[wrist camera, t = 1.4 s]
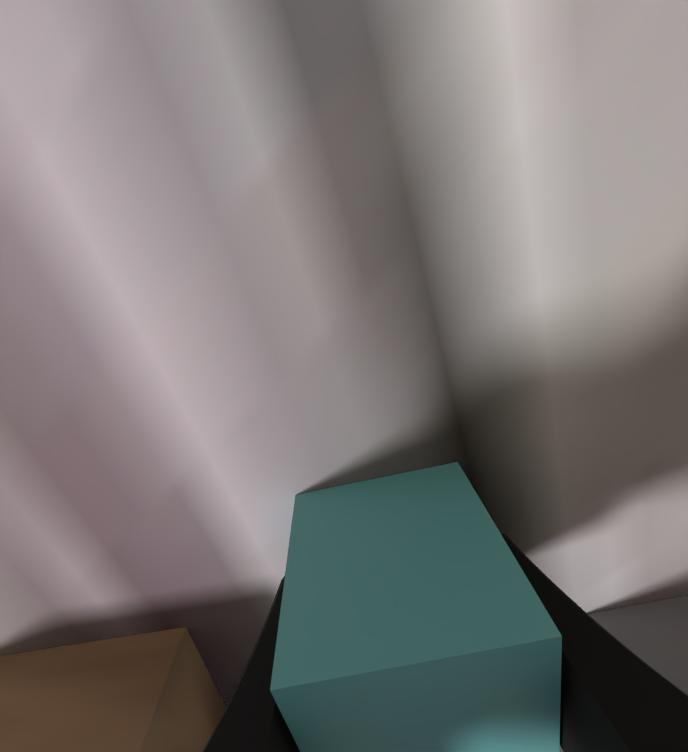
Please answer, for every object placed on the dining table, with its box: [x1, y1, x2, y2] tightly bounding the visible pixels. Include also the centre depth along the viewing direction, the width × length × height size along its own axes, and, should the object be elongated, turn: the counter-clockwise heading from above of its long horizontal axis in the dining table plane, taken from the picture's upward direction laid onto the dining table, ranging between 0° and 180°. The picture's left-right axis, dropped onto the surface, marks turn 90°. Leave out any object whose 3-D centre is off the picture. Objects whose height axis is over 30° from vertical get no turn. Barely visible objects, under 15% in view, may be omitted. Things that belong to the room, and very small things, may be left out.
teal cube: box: [270, 462, 562, 752], centre depth 9 cm, size 5×5×5 cm
